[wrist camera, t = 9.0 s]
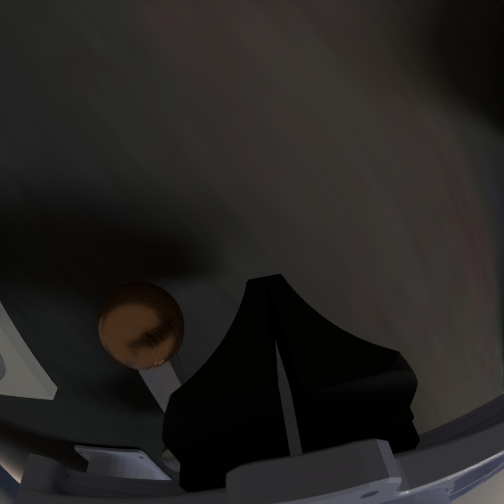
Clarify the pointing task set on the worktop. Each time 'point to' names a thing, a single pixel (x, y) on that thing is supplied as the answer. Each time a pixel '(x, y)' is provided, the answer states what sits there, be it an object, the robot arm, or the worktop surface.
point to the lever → (145, 335)
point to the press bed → (20, 365)
